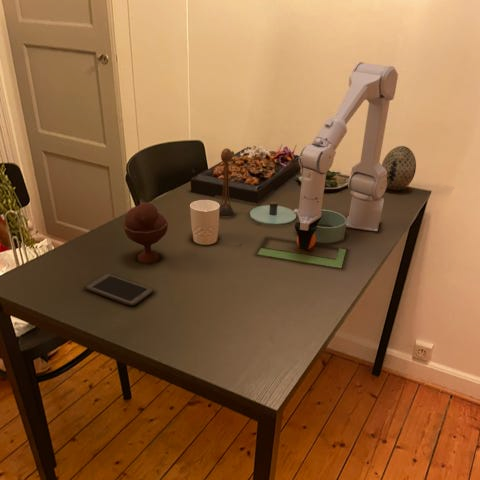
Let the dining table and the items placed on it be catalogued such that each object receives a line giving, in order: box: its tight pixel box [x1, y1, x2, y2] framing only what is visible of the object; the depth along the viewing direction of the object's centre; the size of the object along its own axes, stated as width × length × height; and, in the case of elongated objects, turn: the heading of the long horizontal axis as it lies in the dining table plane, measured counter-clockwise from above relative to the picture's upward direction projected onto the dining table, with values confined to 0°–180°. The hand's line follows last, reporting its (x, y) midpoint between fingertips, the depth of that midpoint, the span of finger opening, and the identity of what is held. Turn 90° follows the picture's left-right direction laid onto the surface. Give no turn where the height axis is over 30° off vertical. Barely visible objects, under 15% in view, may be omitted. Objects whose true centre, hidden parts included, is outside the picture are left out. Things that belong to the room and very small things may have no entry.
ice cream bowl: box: [122, 201, 169, 264], centre depth 116 cm, size 11×11×15 cm
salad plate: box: [294, 169, 349, 194], centre depth 171 cm, size 19×18×5 cm
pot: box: [298, 208, 347, 244], centre depth 134 cm, size 13×13×5 cm
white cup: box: [189, 199, 221, 246], centre depth 127 cm, size 8×8×10 cm
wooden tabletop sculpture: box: [219, 147, 235, 217], centre depth 140 cm, size 6×5×20 cm
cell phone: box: [85, 273, 153, 307], centre depth 107 cm, size 7×14×1 cm, turn 61°
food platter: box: [190, 143, 301, 204], centre depth 170 cm, size 45×25×10 cm, turn 155°
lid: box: [249, 200, 297, 226], centre depth 143 cm, size 14×14×5 cm
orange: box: [296, 234, 316, 250], centre depth 124 cm, size 5×5×5 cm
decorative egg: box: [381, 145, 417, 192], centre depth 164 cm, size 12×12×15 cm
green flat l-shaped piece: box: [256, 246, 347, 270], centre depth 125 cm, size 22×11×1 cm, turn 73°
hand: (305, 244), depth 125 cm, fingers closed on orange, 5 cm apart
